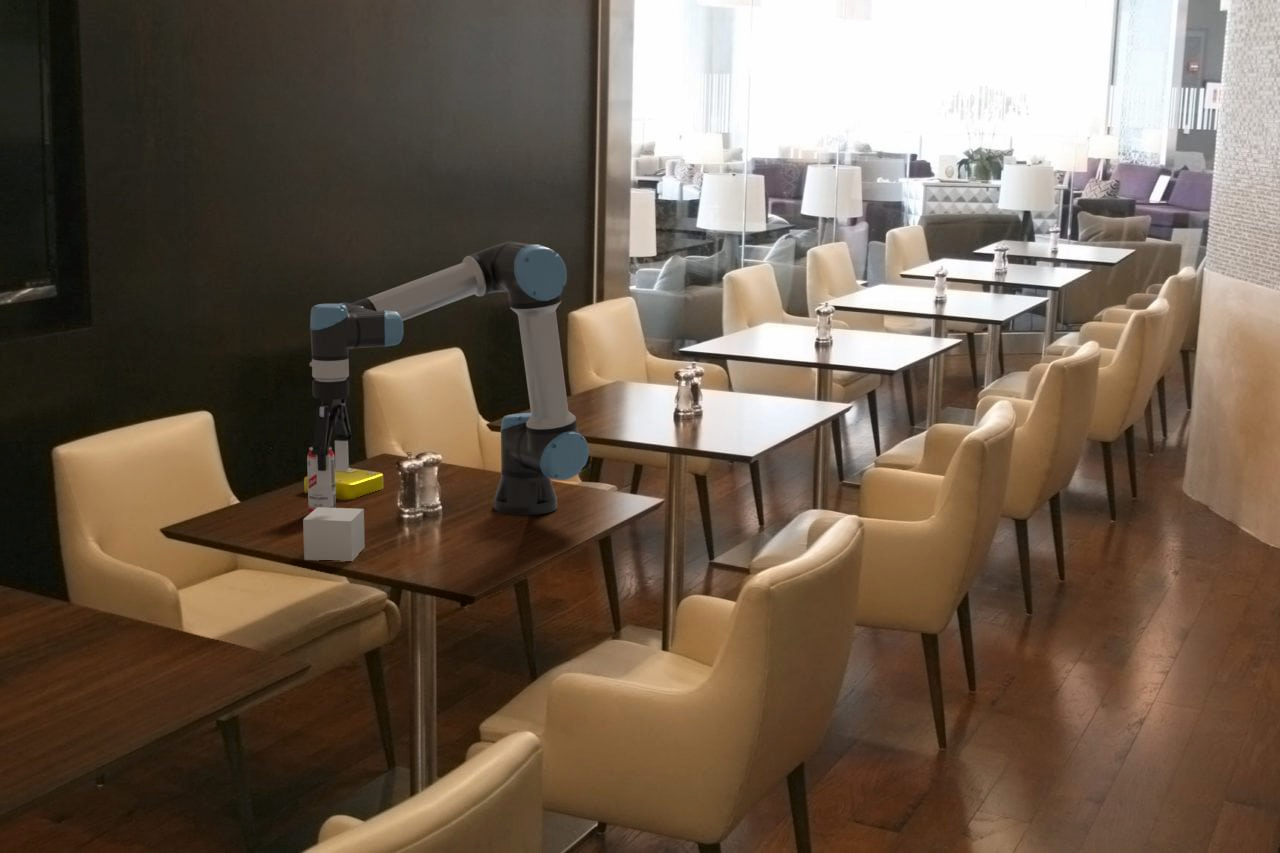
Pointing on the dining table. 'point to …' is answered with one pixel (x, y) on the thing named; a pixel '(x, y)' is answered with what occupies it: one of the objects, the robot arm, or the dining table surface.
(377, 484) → the element tile
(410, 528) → the dining table surface
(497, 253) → the robot arm
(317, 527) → the white cube
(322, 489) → the beer can
